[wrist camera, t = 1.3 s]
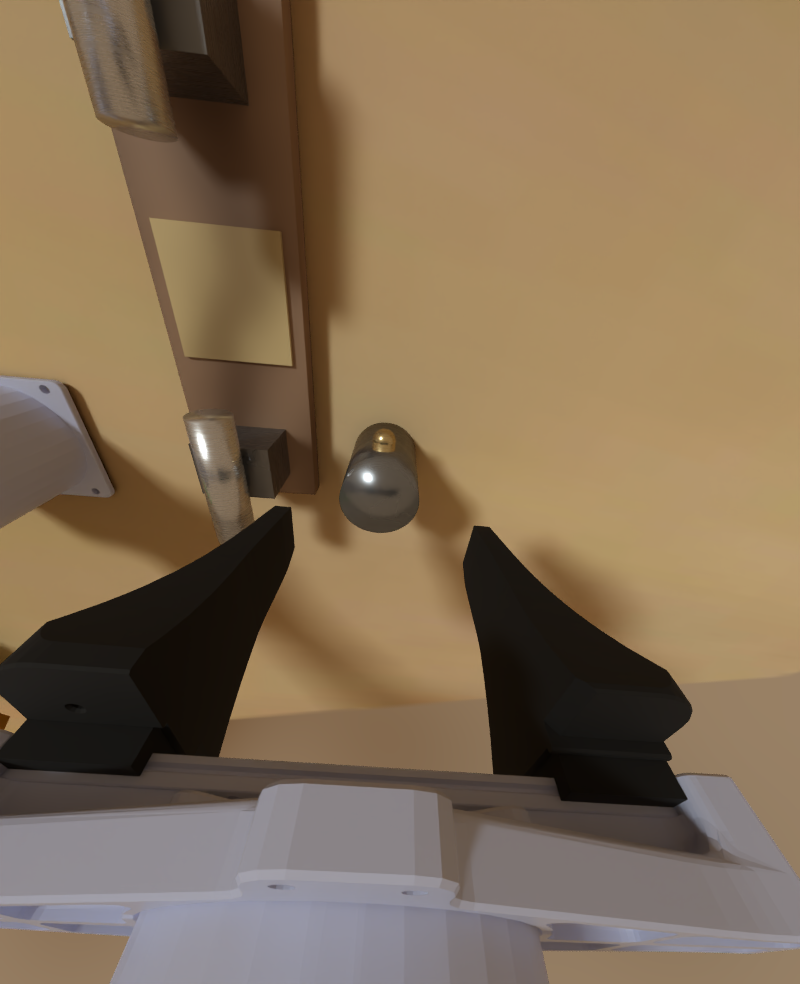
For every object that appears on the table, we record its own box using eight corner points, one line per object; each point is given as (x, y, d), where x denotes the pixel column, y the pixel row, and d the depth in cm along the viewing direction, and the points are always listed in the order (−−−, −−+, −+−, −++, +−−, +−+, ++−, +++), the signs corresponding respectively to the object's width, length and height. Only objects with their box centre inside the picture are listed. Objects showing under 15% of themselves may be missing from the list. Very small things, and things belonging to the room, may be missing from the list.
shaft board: (218, 478, 22) (208, 488, 21) (73, -97, 10) (31, -149, 9) (319, 485, 22) (314, 496, 21) (285, -68, 11) (271, -114, 10)
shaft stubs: (234, 494, 21) (191, 543, 17) (82, -165, 9) (-191, -556, 5) (293, 499, 22) (266, 548, 17) (220, -145, 9) (70, -507, 5)
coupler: (354, 487, 22) (340, 544, 17) (355, 404, 19) (338, 443, 14) (410, 492, 23) (412, 549, 17) (420, 409, 19) (426, 450, 14)
